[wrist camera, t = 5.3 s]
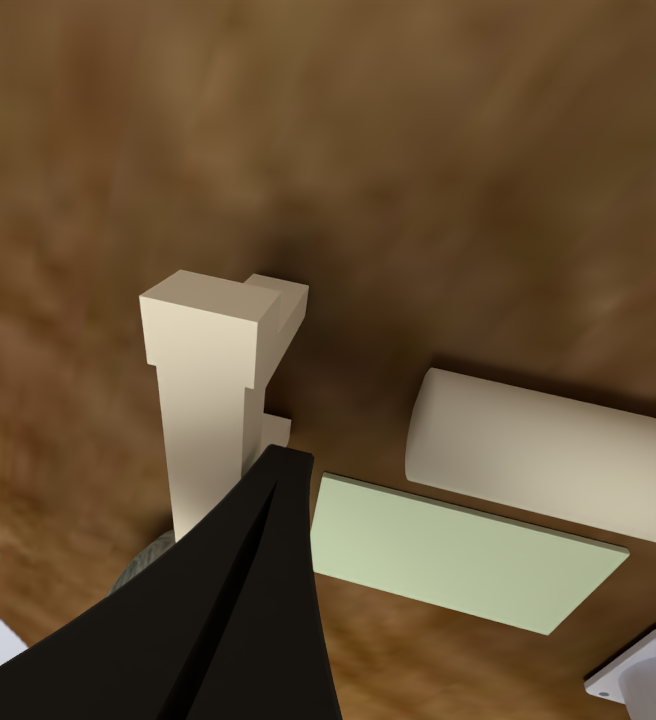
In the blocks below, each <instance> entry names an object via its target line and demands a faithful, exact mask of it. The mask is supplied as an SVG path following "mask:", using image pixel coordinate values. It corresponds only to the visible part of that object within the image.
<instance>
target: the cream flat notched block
mask: <svg viewBox="0 0 656 720" xmlns="http://www.w3.org/2000/svg"><path fill="white" fill-rule="evenodd" d="M308 290H309V286H308V285H304V284H299V283H294V282H290V281H285V280H281V279H276V278H271V277H267V276H262V275H257V274H253V275H251V276H250V277H249V278H248V279H247V280H246V281H245V282H244V283H239V282H235V281H230V280H226V279H221V278H216V277H212V276H207V275H203V274H198V273H194V272H189V271H184V270H179V271H178V272H176V273H174V274H173V275H171V276H170V277H168V278H167V279H165V280H163V281H162V282H160V283H159V284H157V285H156V286H154V287H152V288H151V289H149V290H148V291H146V292H144V293H143V294H141V295H140V296H139V298H140V306H141V314H142V322H143V330H144V338H145V347H146V355H147V363H148V364H151V365H155V366H156V368H157V377H158V386H159V395H160V404H161V413H162V422H163V431H164V440H165V449H166V459H167V468H168V477H169V486H170V495H171V504H172V513H173V522H174V531H175V540H176V542H178V541H179V540H180V539H181V538H182V537H183V536H184V535H186V534H187V533H188V532H189V531H190V530H191V529H192V528H193V527H194V526H195V525H196V524H197V523H199V522H200V521H201V520H202V519H203V518H204V517H205V516H206V515H207V514H208V513H209V512H210V511H211V510H212V509H213V508H214V507H215V506H216V505H217V504H218V503H219V502H220V501H221V500H222V499H223V498H224V497H225V496H226V495H227V494H228V493H229V492H230V490H231V489H232V488H233V487H234V486H235V485H236V484H237V483H238V482H239V481H240V480H241V479H242V477H243V476H244V475H245V474H246V473H247V472H248V470H249V469H250V468H251V467H252V466H253V464H254V463H255V462H256V461H257V459H258V458H259V457H260V456H261V454H262V453H263V452H264V450H265V449H266V447H267V446H268V445H270V444H275V445H279V446H283V447H286V446H287V443H288V441H289V435H290V427H291V420H290V419H286V418H282V417H277V416H273V415H269V414H265V413H263V411H264V398H265V388H266V386H267V384H268V382H269V381H270V379H271V377H272V375H273V373H274V372H275V370H276V368H277V366H278V364H279V363H280V361H281V359H282V357H283V355H284V354H285V352H286V350H287V348H288V346H289V345H290V343H291V341H292V339H293V337H294V336H295V334H296V332H297V330H298V328H299V327H300V325H301V323H302V321H303V319H304V318H305V313H306V305H307V297H308Z"/></svg>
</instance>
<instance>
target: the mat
mask: <svg viewBox="0 0 656 720" xmlns="http://www.w3.org/2000/svg"><path fill="white" fill-rule="evenodd" d="M310 538H311V550H312V561H313V570H314V572H317V573H321V574H325V575H328V576H332V577H336V578H339V579H343V580H347V581H350V582H354V583H358V584H361V585H365V586H369V587H372V588H376V589H380V590H383V591H387V592H391V593H394V594H398V595H402V596H405V597H409V598H413V599H416V600H420V601H424V602H427V603H431V604H435V605H438V606H442V607H446V608H449V609H453V610H457V611H460V612H464V613H468V614H471V615H475V616H479V617H482V618H486V619H490V620H493V621H497V622H501V623H504V624H508V625H512V626H515V627H519V628H523V629H526V630H530V631H534V632H537V633H541V634H545V635H549V634H550V633H551V632H552V631H553V630H554V629H555V628H556V627H557V626H558V625H559V624H560V623H561V622H562V621H563V620H564V619H565V618H566V617H567V616H568V615H569V614H570V613H571V612H572V611H573V610H574V609H575V608H576V607H577V606H578V605H579V604H580V603H581V602H582V601H583V600H584V599H585V598H586V597H587V596H589V595H590V594H591V593H592V592H593V591H594V590H595V589H596V588H597V587H598V586H599V585H600V584H601V583H602V582H603V581H604V580H605V579H606V578H607V577H608V576H609V575H610V574H611V573H612V572H613V571H614V570H615V569H616V568H617V567H618V566H619V565H620V564H621V563H622V562H623V561H624V560H625V559H626V558H627V557H628V556H629V555H630V553H629V551H628V549H627V548H624V547H620V546H616V545H612V544H608V543H604V542H600V541H596V540H592V539H588V538H584V537H580V536H576V535H572V534H568V533H564V532H560V531H556V530H552V529H548V528H544V527H540V526H536V525H532V524H528V523H524V522H520V521H516V520H513V519H509V518H505V517H501V516H497V515H493V514H489V513H485V512H481V511H477V510H473V509H469V508H465V507H461V506H457V505H453V504H449V503H445V502H441V501H437V500H433V499H429V498H425V497H421V496H417V495H413V494H409V493H405V492H402V491H398V490H394V489H390V488H386V487H382V486H378V485H374V484H370V483H366V482H362V481H358V480H354V479H350V478H346V477H342V476H338V475H334V474H330V473H326V472H324V473H323V477H322V481H321V486H320V491H319V495H318V500H317V505H316V510H315V514H314V519H313V524H312V529H311V533H310Z"/></svg>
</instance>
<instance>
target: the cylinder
mask: <svg viewBox="0 0 656 720" xmlns="http://www.w3.org/2000/svg"><path fill="white" fill-rule="evenodd" d="M405 472H406V477H407V479H408V480H409V481H413V482H417V483H421V484H425V485H429V486H433V487H437V488H441V489H445V490H449V491H453V492H457V493H461V494H465V495H469V496H472V497H476V498H480V499H484V500H488V501H492V502H496V503H500V504H504V505H508V506H512V507H516V508H520V509H524V510H528V511H532V512H536V513H540V514H544V515H548V516H552V517H556V518H560V519H564V520H568V521H572V522H576V523H580V524H584V525H588V526H592V527H596V528H600V529H604V530H608V531H612V532H616V533H620V534H624V535H628V536H632V537H636V538H640V539H644V540H648V541H652V542H656V418H652V417H648V416H643V415H639V414H635V413H630V412H626V411H621V410H617V409H613V408H608V407H604V406H599V405H595V404H591V403H586V402H582V401H577V400H573V399H569V398H564V397H560V396H555V395H551V394H547V393H542V392H538V391H533V390H529V389H524V388H520V387H516V386H511V385H507V384H502V383H498V382H494V381H489V380H485V379H480V378H476V377H472V376H467V375H463V374H458V373H454V372H450V371H445V370H441V369H436V368H430V369H429V370H428V371H427V373H426V375H425V377H424V379H423V382H422V385H421V388H420V391H419V394H418V396H417V399H416V402H415V405H414V408H413V412H412V416H411V421H410V426H409V431H408V437H407V444H406V454H405Z"/></svg>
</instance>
